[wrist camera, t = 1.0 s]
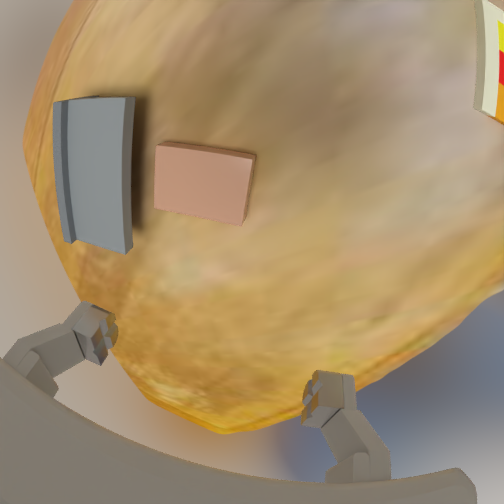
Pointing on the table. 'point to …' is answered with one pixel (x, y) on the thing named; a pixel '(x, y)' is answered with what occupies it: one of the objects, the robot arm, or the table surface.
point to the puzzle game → (490, 60)
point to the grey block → (94, 169)
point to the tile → (203, 181)
